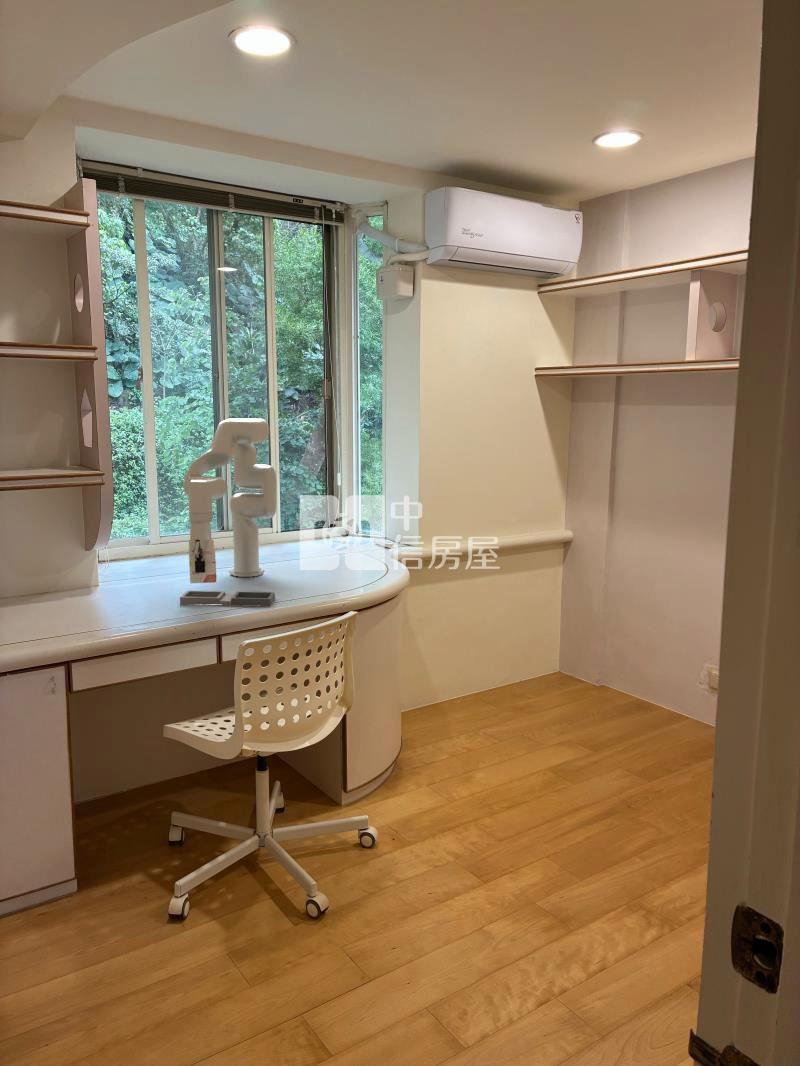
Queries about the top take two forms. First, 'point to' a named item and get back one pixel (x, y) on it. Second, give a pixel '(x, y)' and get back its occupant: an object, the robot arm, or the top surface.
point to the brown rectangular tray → (201, 597)
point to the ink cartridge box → (210, 565)
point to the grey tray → (248, 598)
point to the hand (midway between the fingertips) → (202, 569)
